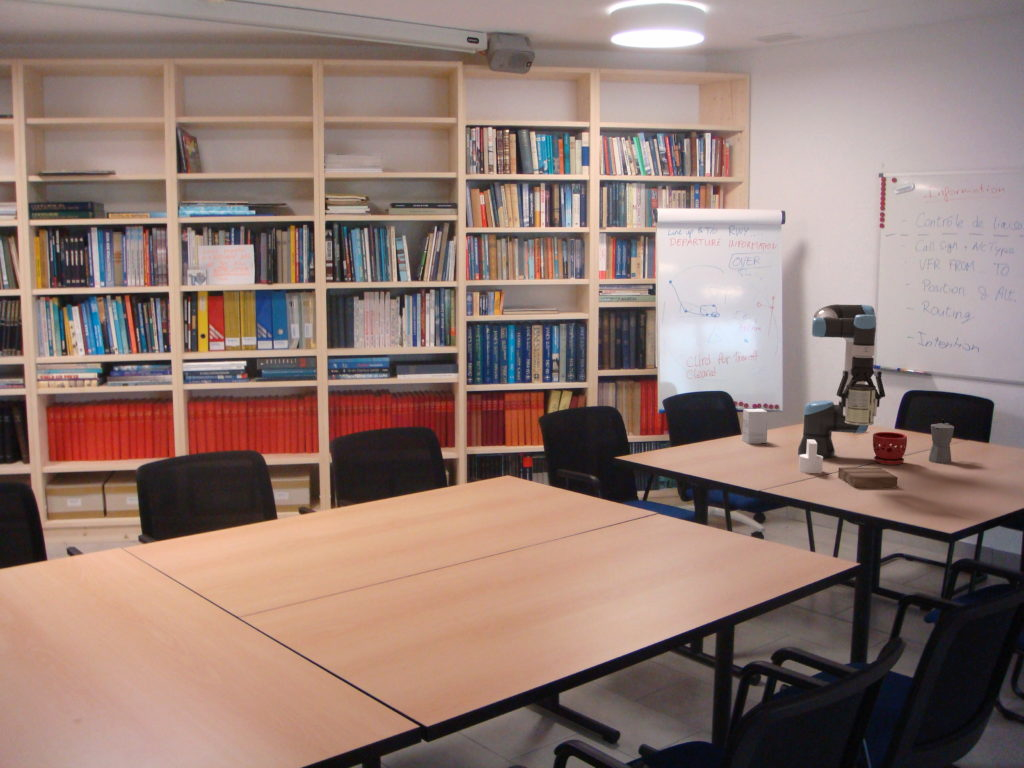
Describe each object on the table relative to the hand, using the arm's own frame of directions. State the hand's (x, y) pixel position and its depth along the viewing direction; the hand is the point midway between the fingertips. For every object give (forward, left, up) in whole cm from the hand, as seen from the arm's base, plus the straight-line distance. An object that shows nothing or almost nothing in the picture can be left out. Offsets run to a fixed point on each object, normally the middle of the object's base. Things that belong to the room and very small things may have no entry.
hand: (859, 415), depth 349 cm
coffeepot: (-39, +51, -26) cm, 69 cm away
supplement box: (-78, -17, -26) cm, 84 cm away
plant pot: (-35, +27, -26) cm, 51 cm away
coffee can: (0, 0, -3) cm, 3 cm away
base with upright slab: (-19, -11, -26) cm, 34 cm away
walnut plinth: (0, +4, -26) cm, 26 cm away
